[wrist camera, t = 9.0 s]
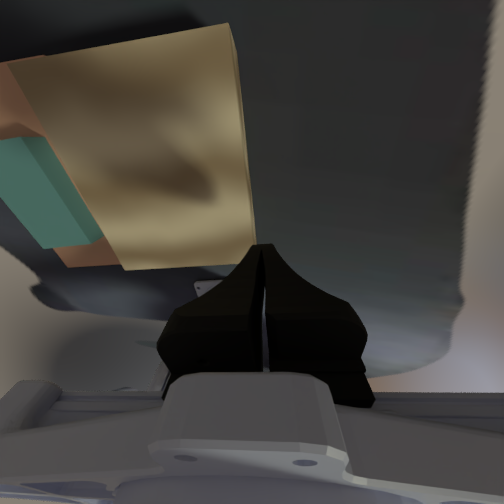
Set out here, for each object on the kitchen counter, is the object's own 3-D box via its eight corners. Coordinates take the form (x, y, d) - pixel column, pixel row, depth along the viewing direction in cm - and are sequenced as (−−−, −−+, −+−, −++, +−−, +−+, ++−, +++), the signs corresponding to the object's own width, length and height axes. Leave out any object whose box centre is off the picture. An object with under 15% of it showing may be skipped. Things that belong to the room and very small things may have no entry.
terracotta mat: (146, 261, 24) (144, 262, 24) (69, 266, 25) (67, 267, 25) (47, 56, 14) (43, 54, 14) (-73, 78, 15) (-78, 77, 15)
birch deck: (256, 243, 22) (255, 262, 18) (145, 251, 23) (124, 270, 20) (236, 52, 14) (228, 22, 10) (65, 81, 15) (6, 63, 11)
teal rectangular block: (43, 248, 21) (60, 240, 22) (91, 243, 20) (104, 235, 22) (-41, 147, 16) (-11, 147, 17) (20, 136, 15) (44, 137, 17)
